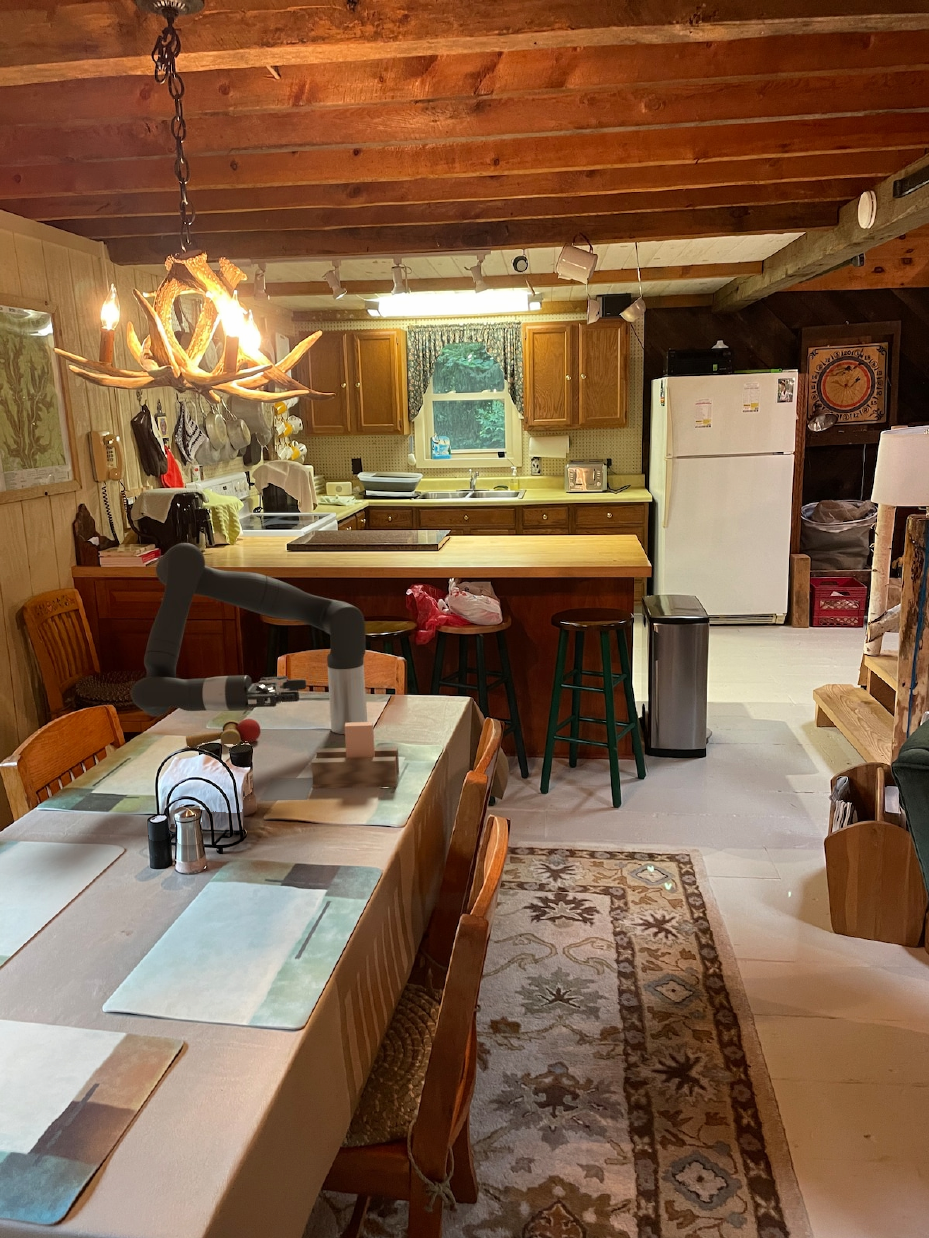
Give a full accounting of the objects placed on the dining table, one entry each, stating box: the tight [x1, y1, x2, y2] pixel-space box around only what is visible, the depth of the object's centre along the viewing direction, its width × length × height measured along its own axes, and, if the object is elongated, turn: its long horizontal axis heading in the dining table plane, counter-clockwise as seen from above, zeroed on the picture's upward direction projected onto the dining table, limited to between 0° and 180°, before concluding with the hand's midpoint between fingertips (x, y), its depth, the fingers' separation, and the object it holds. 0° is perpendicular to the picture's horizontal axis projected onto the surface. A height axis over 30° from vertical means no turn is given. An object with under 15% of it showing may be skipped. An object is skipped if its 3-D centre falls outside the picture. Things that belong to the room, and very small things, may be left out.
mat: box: [259, 777, 313, 802], centre depth 197 cm, size 10×12×1 cm
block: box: [344, 721, 375, 758], centre depth 199 cm, size 6×2×12 cm, turn 91°
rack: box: [311, 746, 400, 789], centre depth 200 cm, size 18×9×6 cm, turn 90°
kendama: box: [185, 718, 262, 748], centre depth 226 cm, size 8×6×18 cm
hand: (302, 689), depth 196 cm, fingers open, 8 cm apart
